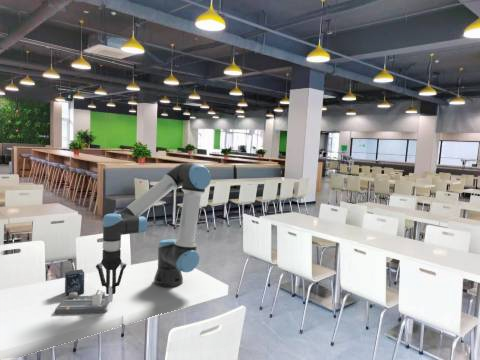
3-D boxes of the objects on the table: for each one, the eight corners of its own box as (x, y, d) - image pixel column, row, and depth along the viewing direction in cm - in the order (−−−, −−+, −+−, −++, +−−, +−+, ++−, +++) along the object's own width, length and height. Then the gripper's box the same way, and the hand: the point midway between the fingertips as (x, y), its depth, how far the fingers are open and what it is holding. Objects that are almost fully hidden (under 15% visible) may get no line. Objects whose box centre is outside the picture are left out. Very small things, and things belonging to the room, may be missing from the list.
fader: (102, 300, 168) (102, 289, 168) (99, 305, 163) (99, 294, 163) (95, 300, 168) (95, 289, 167) (92, 305, 163) (92, 294, 162)
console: (110, 299, 175) (110, 291, 175) (104, 313, 161) (104, 304, 161) (65, 300, 172) (65, 291, 172) (54, 314, 158) (54, 305, 158)
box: (66, 296, 176) (66, 274, 176) (64, 292, 181) (64, 271, 180) (84, 293, 181) (84, 272, 180) (82, 289, 186) (82, 268, 185)
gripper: (128, 246, 169) (127, 297, 171) (98, 246, 167) (97, 297, 169) (125, 251, 162) (124, 304, 164) (94, 251, 160) (93, 304, 162)
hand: (110, 300), depth 166 cm, fingers closed
